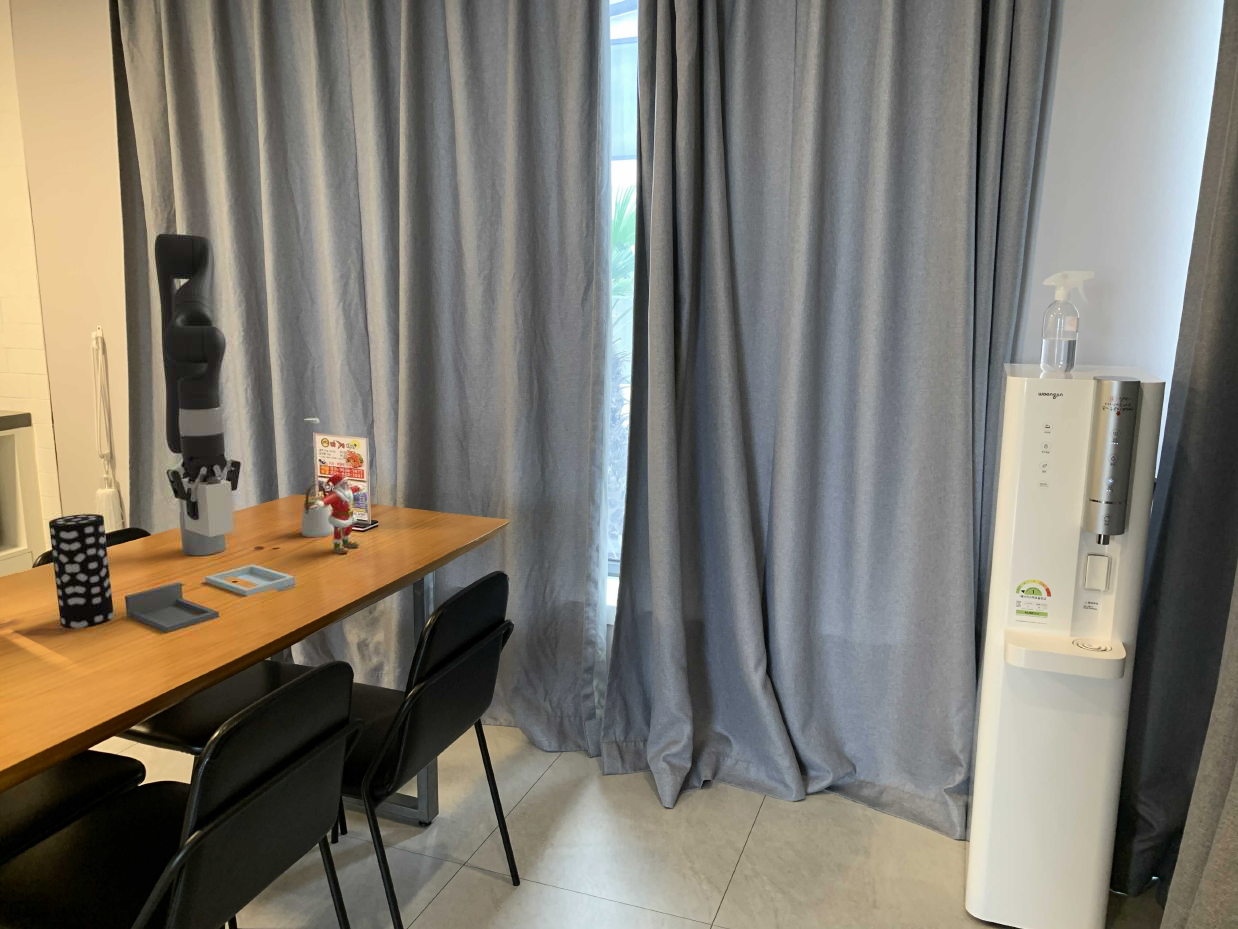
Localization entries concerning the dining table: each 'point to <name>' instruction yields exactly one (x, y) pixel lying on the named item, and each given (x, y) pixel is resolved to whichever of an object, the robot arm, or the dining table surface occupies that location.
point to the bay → (166, 608)
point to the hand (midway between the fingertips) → (208, 515)
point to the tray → (253, 580)
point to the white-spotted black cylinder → (81, 570)
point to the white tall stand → (315, 519)
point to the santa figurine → (340, 511)
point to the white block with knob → (212, 508)
